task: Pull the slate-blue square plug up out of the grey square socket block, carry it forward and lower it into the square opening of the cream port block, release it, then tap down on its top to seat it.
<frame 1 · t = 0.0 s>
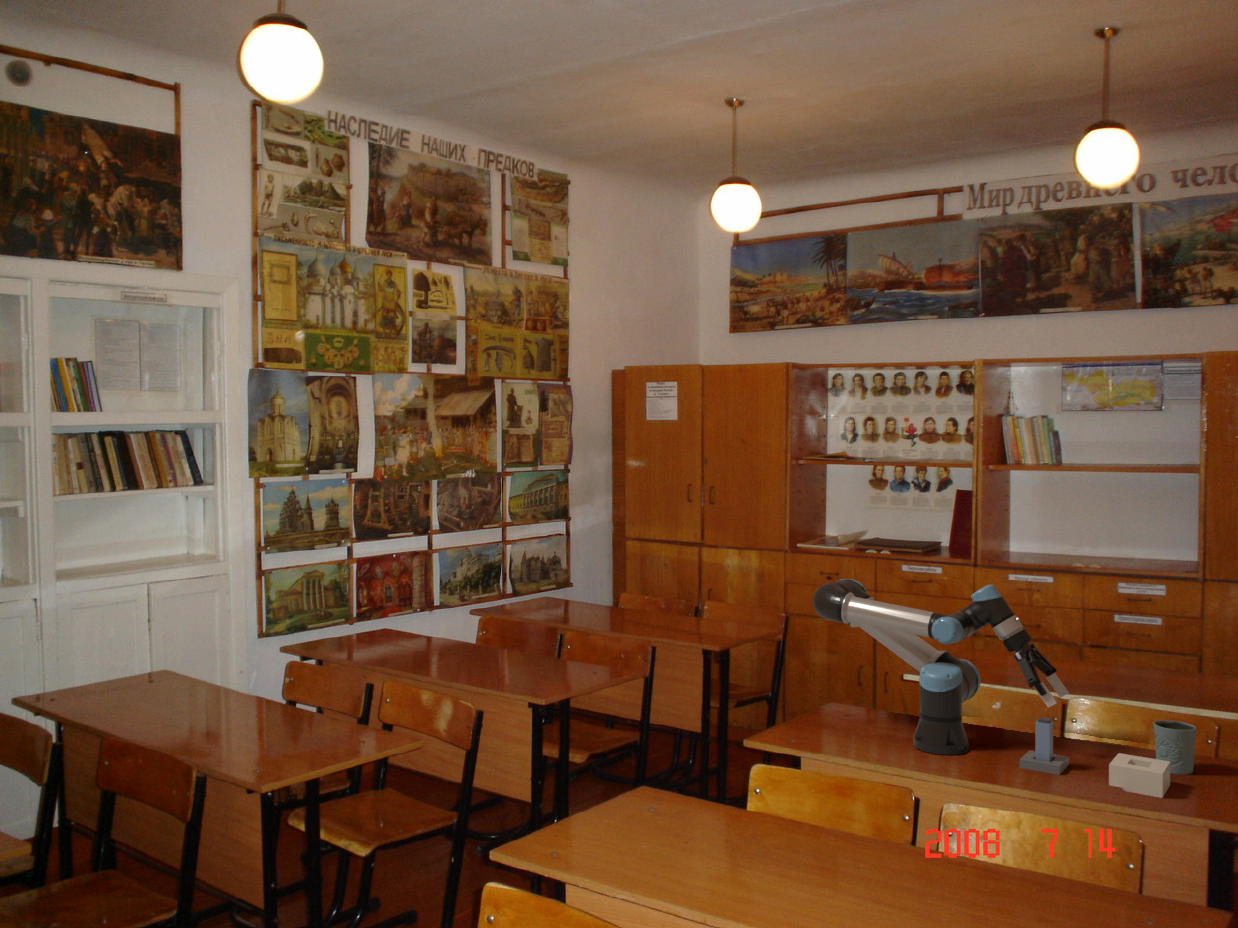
hand: (1058, 700, 277), 15 cm above the table, tool tilted 35°, fingers open, 13 cm apart
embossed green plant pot: (1174, 769, 264), on the table
grey square socket block: (1044, 769, 264), on the table
plug: (1044, 766, 264), point 1 cm above the table, touching grey square socket block
port: (1139, 786, 250), on the table
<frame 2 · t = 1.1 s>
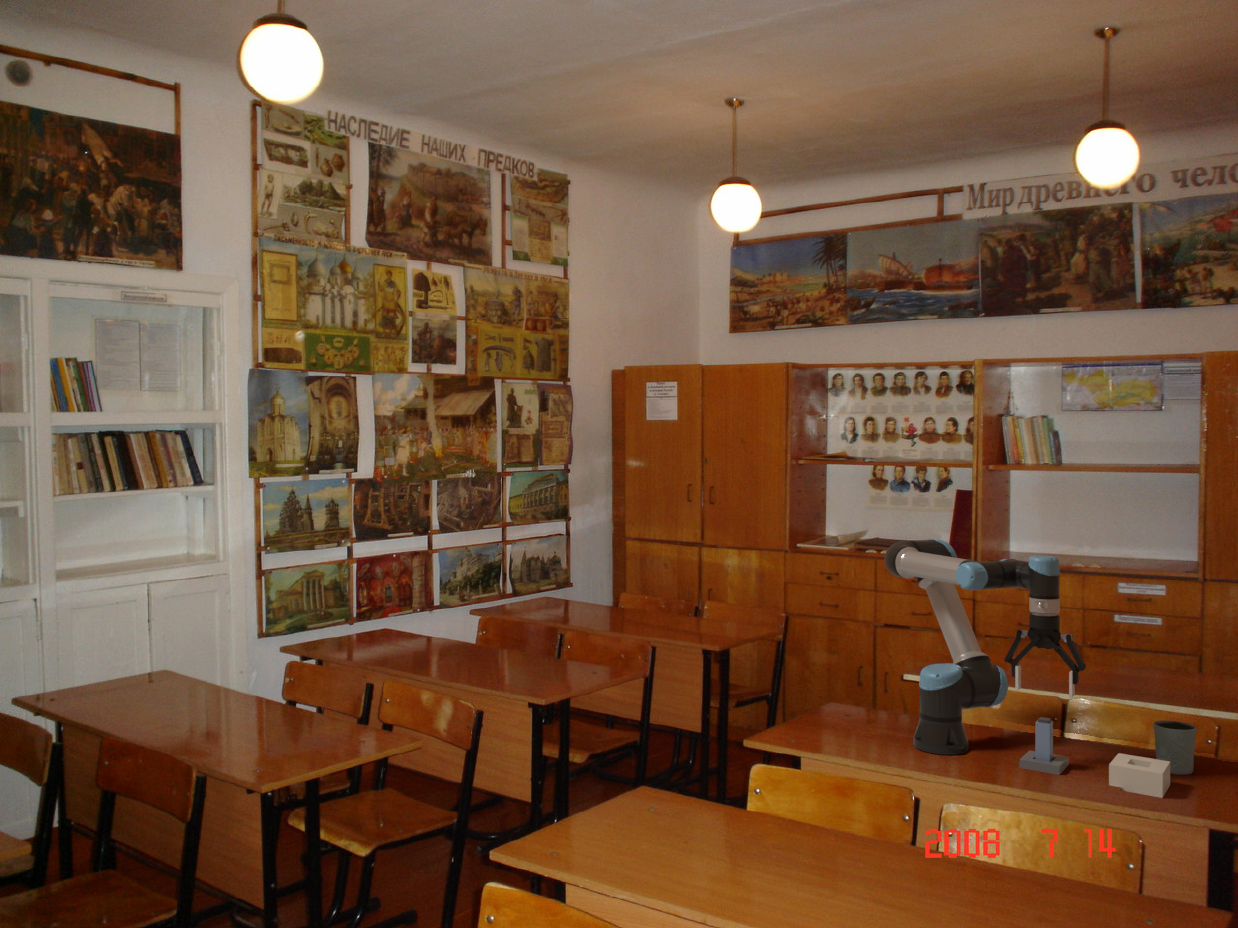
hand: (1044, 692, 264), 21 cm above the table, tool pointing down, fingers open, 13 cm apart
nothing on the table moved.
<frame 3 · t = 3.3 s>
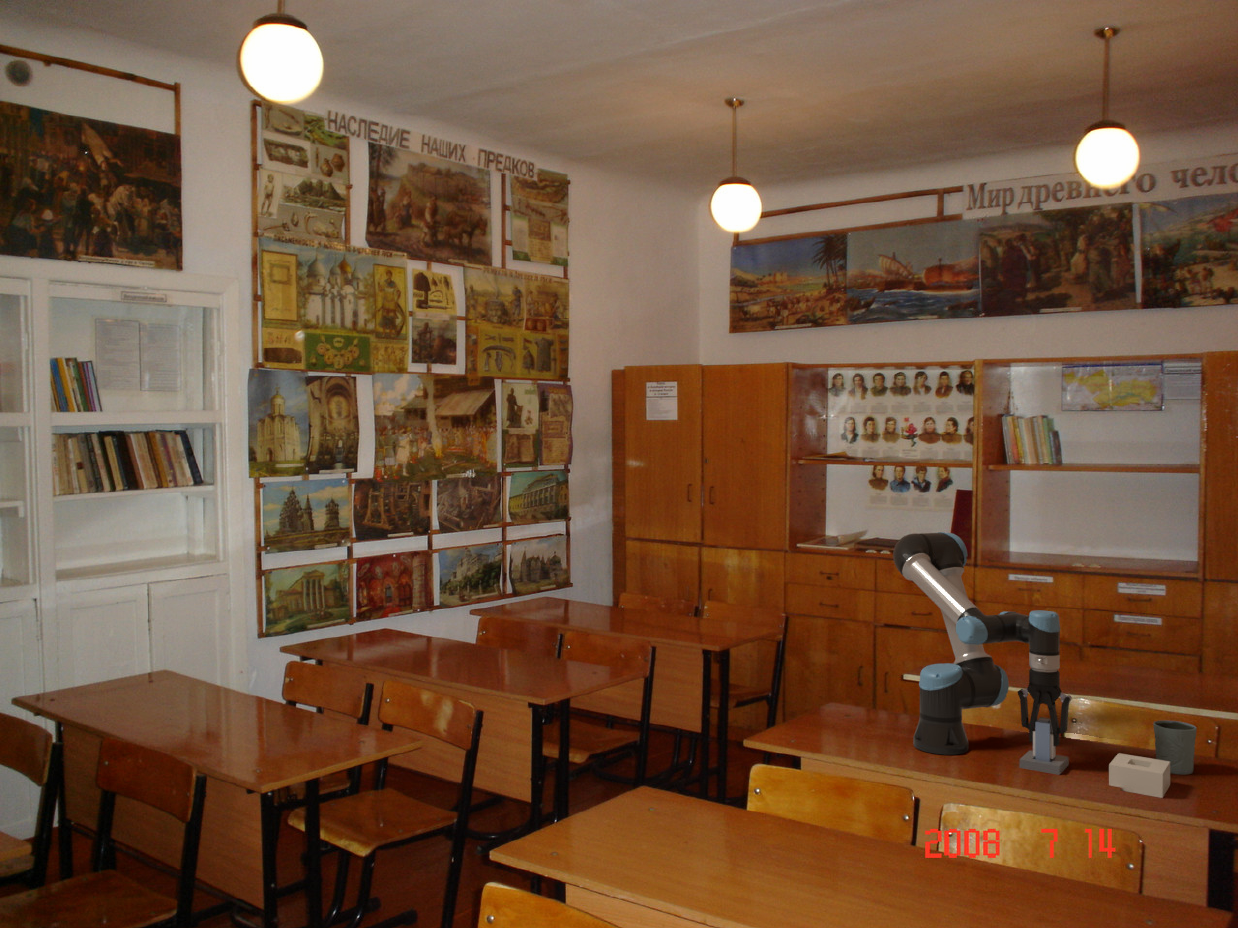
hand: (1044, 755, 264), 4 cm above the table, tool pointing down, fingers closed on plug, 4 cm apart
plug: (1044, 766, 264), point 1 cm above the table, touching gripper, grey square socket block
everything else where it was.
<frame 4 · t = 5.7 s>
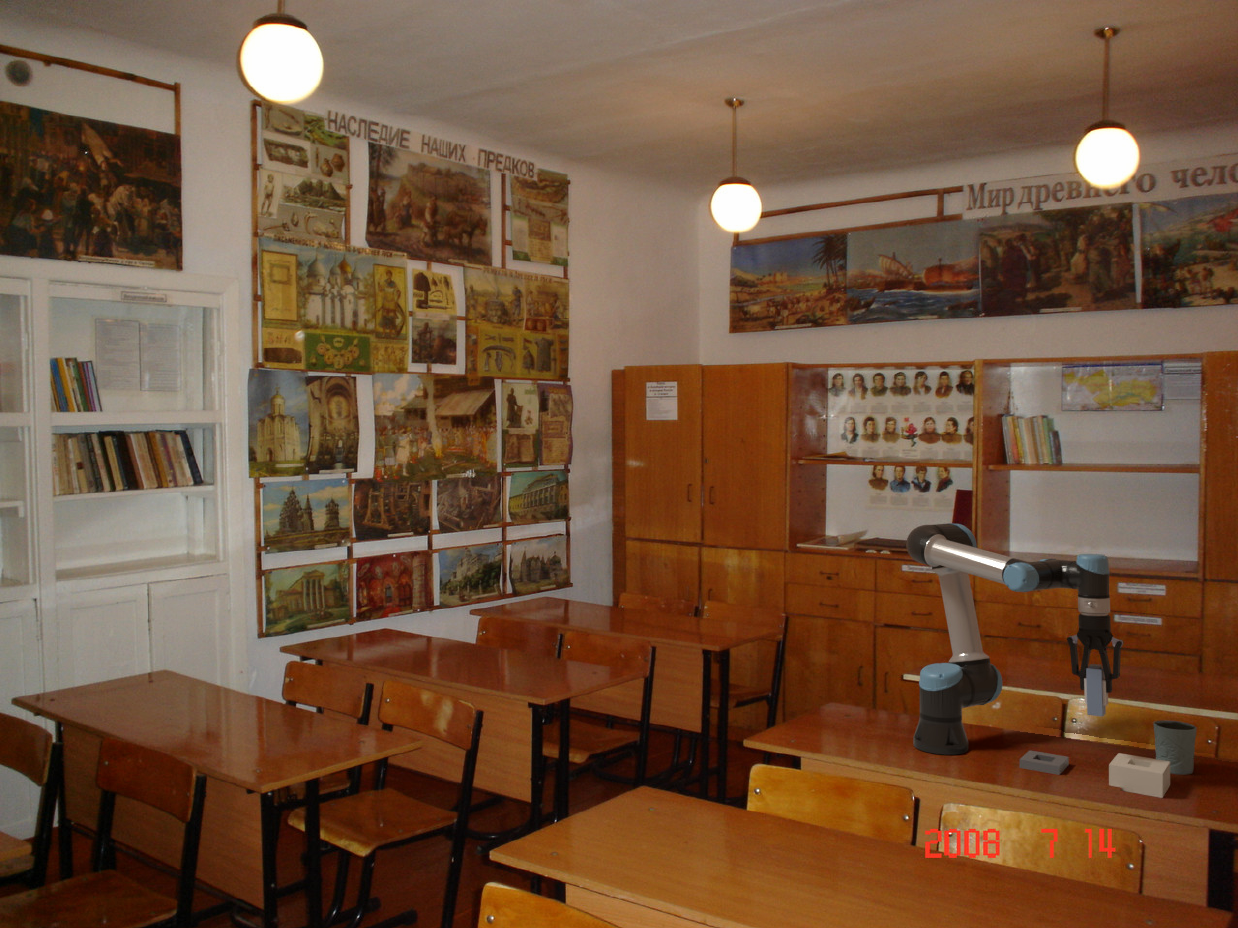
hand: (1096, 703, 256), 20 cm above the table, tool pointing down, fingers closed on plug, 4 cm apart
plug: (1096, 714, 256), point 17 cm above the table, touching gripper
everything else where it was.
when the fingers open (7 cm above the table, at t = 8.3 s): plug drops 3 cm, resting on port.
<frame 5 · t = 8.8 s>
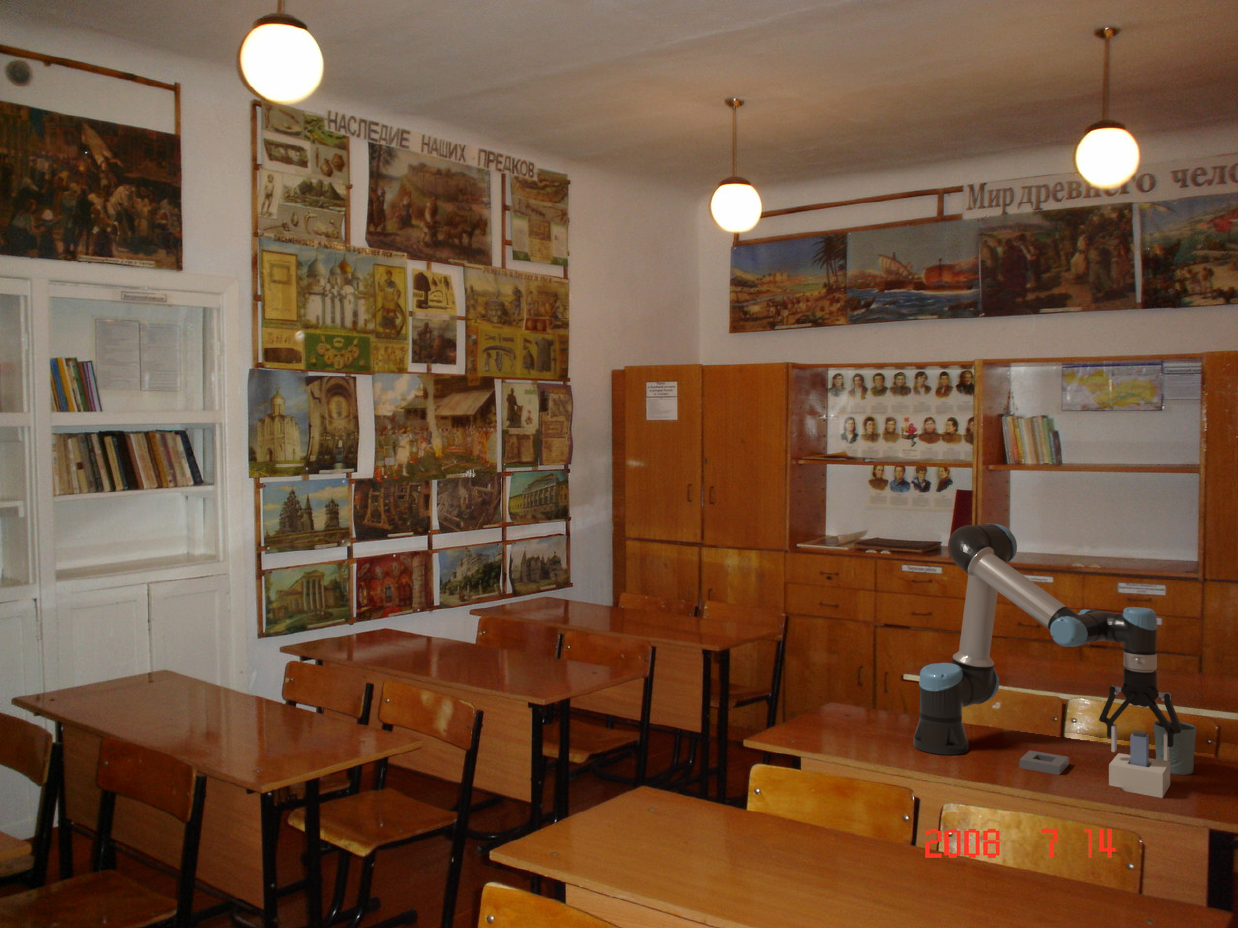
hand: (1139, 754, 250), 8 cm above the table, tool pointing down, fingers open, 11 cm apart
plug: (1139, 782, 250), point 1 cm above the table, touching port
everything else where it was.
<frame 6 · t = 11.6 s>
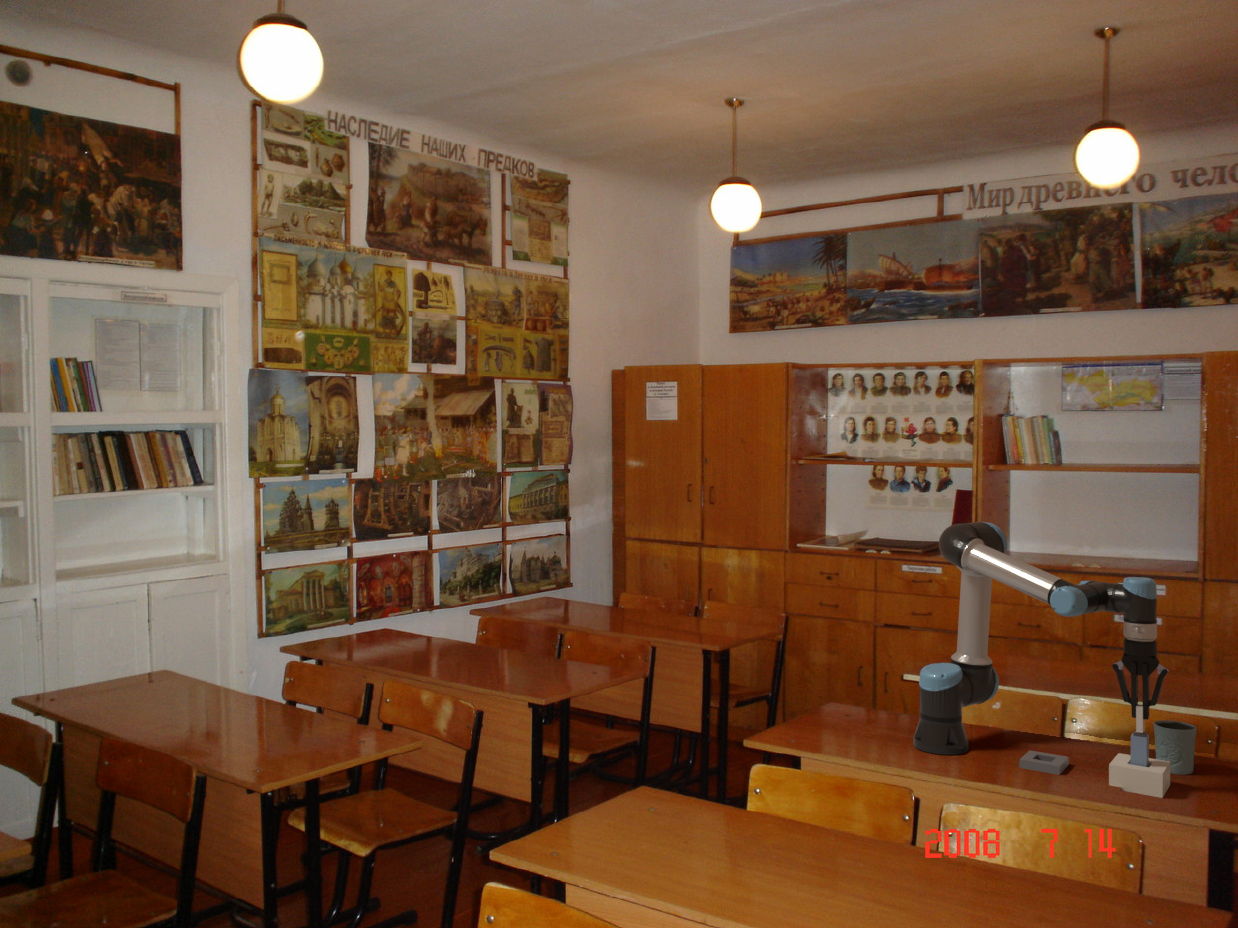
hand: (1140, 731, 250), 14 cm above the table, tool pointing down, fingers closed
plug: (1139, 782, 250), point 1 cm above the table, touching gripper, port
everything else where it was.
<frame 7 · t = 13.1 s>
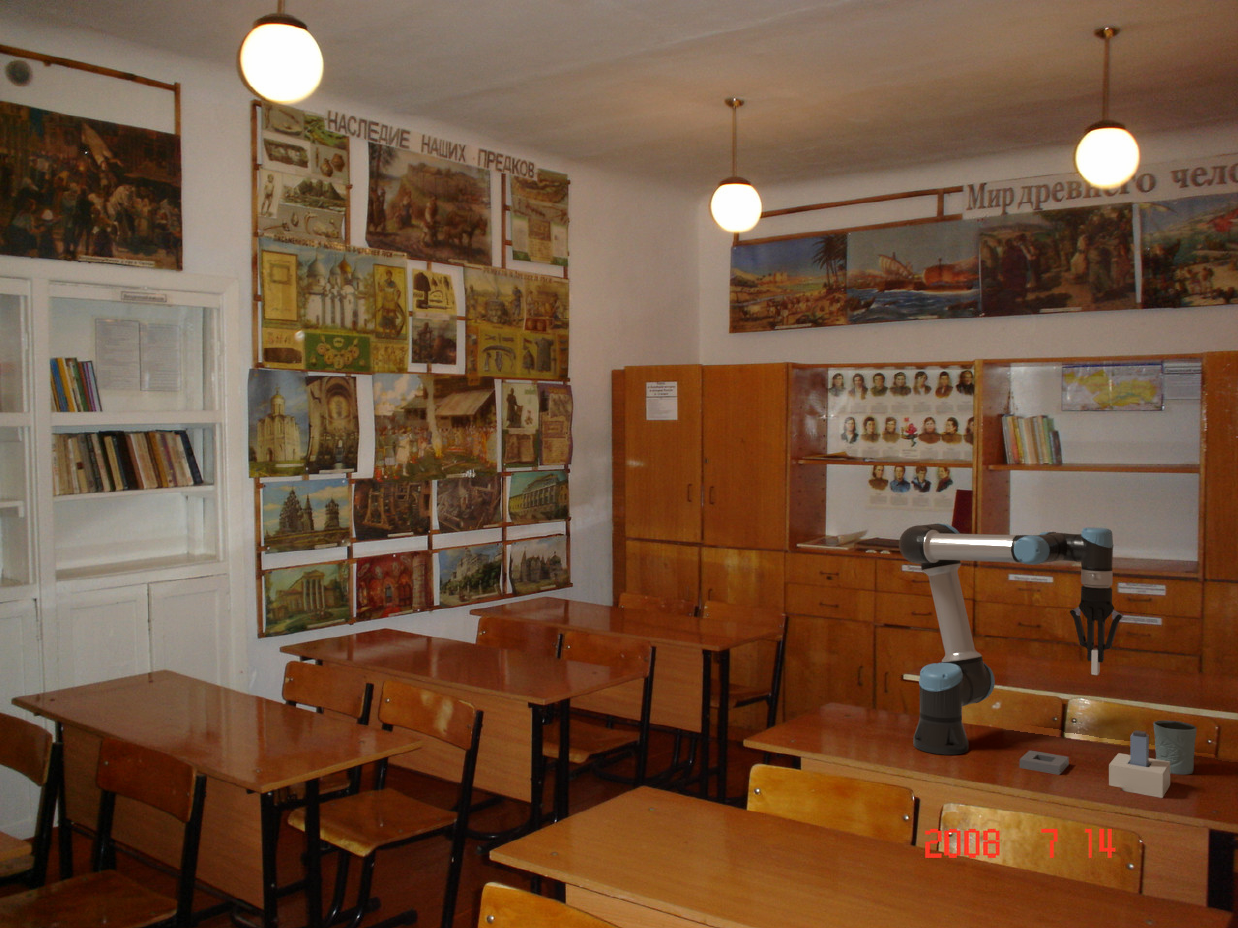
hand: (1095, 673, 262), 26 cm above the table, tool pointing down, fingers closed
plug: (1139, 782, 250), point 1 cm above the table, touching port
everything else where it was.
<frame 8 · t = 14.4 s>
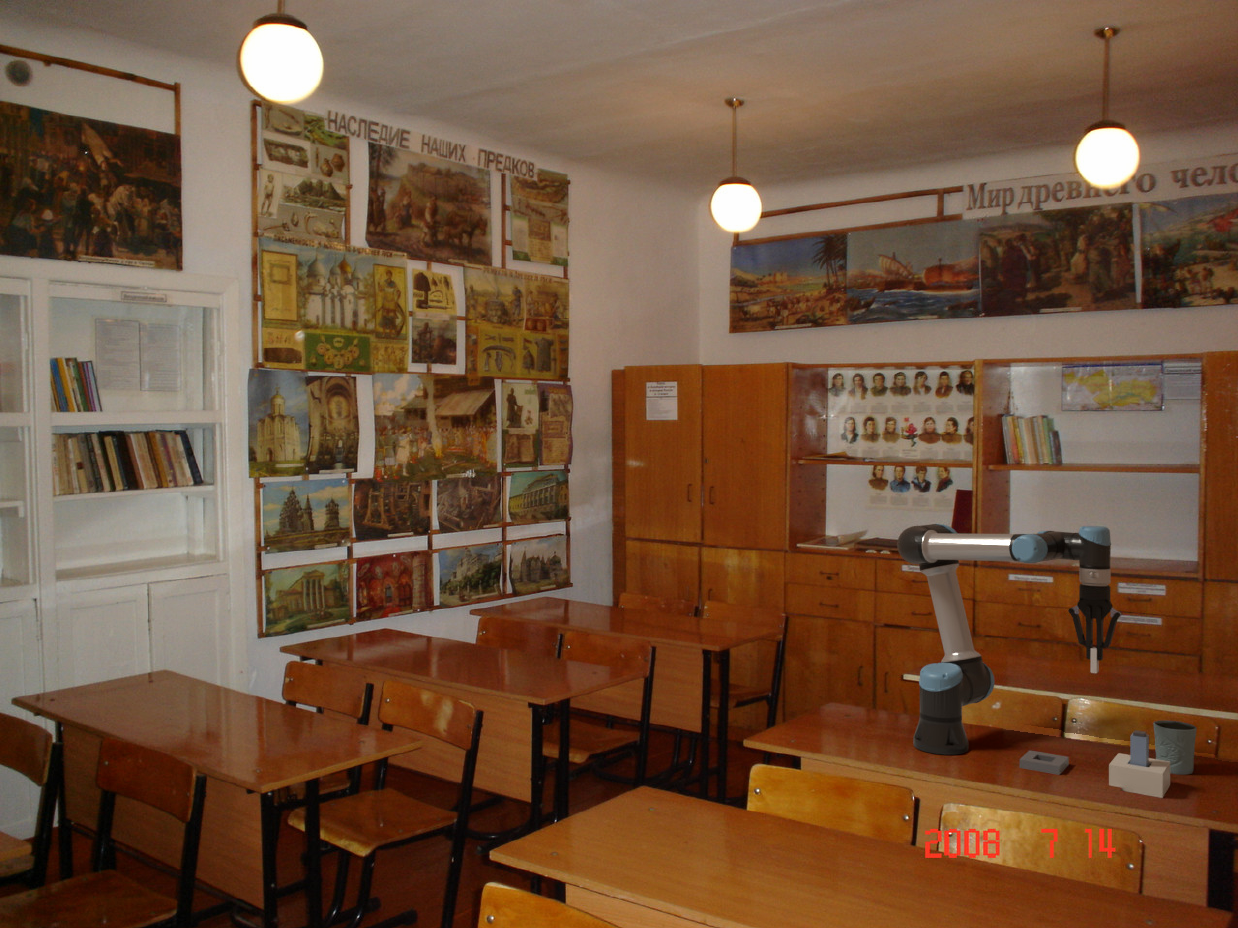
hand: (1094, 671, 263), 26 cm above the table, tool pointing down, fingers closed
nothing on the table moved.
at the end: plug 0.1 cm off-centre on the port, point 1.1 cm above the port's base; plug tilted 0°; the gripper is holding nothing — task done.
